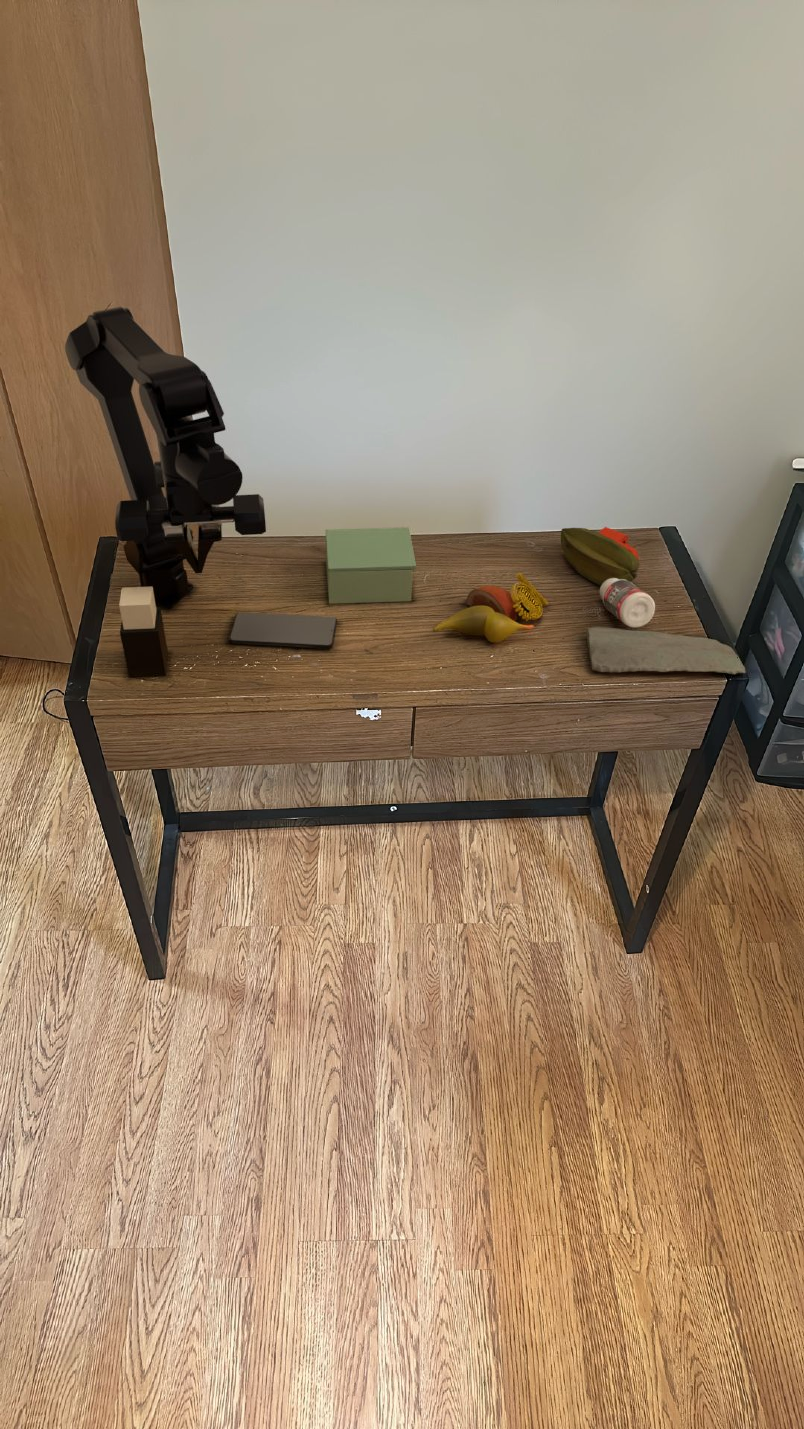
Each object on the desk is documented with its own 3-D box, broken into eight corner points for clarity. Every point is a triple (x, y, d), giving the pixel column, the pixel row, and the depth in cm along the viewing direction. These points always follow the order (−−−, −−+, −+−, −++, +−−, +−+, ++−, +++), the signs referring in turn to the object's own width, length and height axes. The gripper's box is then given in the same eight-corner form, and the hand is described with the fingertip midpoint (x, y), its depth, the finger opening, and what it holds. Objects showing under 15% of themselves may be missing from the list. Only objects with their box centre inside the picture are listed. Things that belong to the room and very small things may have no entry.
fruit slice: (489, 583, 151) (472, 610, 151) (473, 568, 145) (455, 596, 145) (531, 607, 147) (513, 635, 147) (517, 593, 141) (498, 622, 141)
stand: (129, 677, 133) (119, 632, 128) (132, 654, 137) (123, 609, 131) (166, 676, 134) (158, 630, 128) (168, 653, 137) (160, 608, 132)
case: (404, 562, 156) (405, 531, 152) (411, 601, 149) (412, 570, 145) (326, 564, 155) (325, 533, 151) (329, 603, 147) (328, 572, 143)
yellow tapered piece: (523, 622, 146) (535, 645, 141) (426, 628, 144) (435, 651, 139) (526, 597, 144) (539, 619, 139) (428, 602, 141) (437, 625, 136)
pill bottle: (616, 607, 140) (589, 586, 148) (630, 635, 142) (603, 613, 151) (647, 586, 140) (619, 566, 148) (661, 615, 142) (632, 594, 151)
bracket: (573, 527, 158) (588, 515, 161) (570, 547, 161) (584, 535, 164) (637, 552, 154) (651, 539, 157) (632, 573, 156) (646, 559, 159)
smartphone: (236, 611, 144) (337, 616, 143) (237, 616, 144) (337, 621, 144) (228, 640, 139) (332, 645, 138) (228, 645, 139) (332, 650, 139)
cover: (408, 530, 152) (408, 527, 152) (416, 569, 145) (416, 565, 144) (325, 532, 151) (325, 529, 151) (328, 572, 143) (328, 568, 143)
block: (123, 629, 128) (118, 605, 126) (126, 611, 131) (121, 587, 128) (154, 628, 129) (150, 604, 126) (156, 610, 132) (152, 586, 129)
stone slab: (581, 637, 145) (591, 673, 137) (584, 621, 143) (594, 656, 135) (727, 646, 146) (746, 682, 138) (732, 630, 144) (751, 666, 136)
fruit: (597, 594, 160) (572, 603, 156) (575, 525, 159) (549, 532, 155) (652, 577, 151) (626, 585, 147) (629, 503, 150) (602, 510, 146)
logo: (548, 602, 149) (537, 628, 143) (544, 605, 149) (533, 631, 143) (519, 571, 147) (507, 596, 141) (516, 574, 148) (504, 599, 142)
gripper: (258, 433, 127) (265, 535, 137) (111, 439, 124) (130, 542, 135) (262, 476, 119) (269, 580, 129) (106, 483, 116) (126, 589, 127)
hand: (198, 571), depth 130 cm, fingers closed
